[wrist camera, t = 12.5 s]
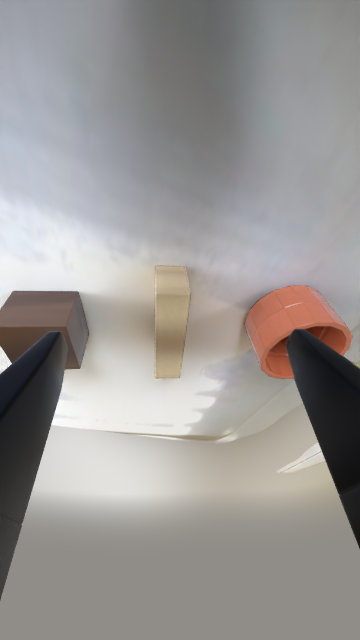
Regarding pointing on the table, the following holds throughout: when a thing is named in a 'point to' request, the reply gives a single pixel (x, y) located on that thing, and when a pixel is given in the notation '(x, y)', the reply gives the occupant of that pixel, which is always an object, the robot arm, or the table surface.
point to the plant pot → (292, 326)
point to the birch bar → (170, 319)
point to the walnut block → (43, 323)
